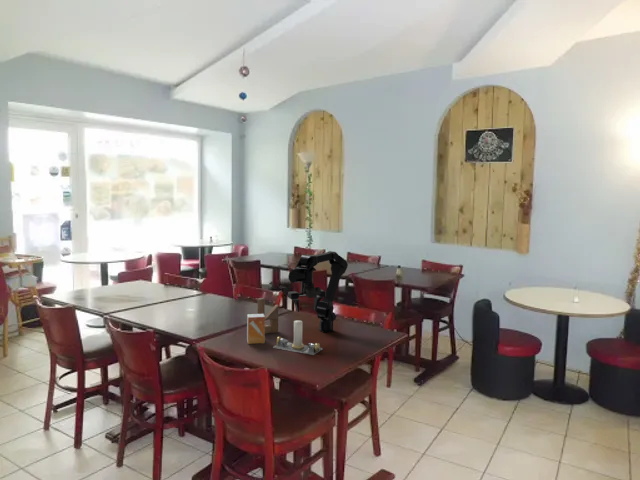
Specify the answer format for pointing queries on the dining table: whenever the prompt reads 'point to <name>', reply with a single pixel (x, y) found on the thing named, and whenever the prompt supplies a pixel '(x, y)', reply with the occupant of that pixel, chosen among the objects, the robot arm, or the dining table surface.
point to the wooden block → (269, 316)
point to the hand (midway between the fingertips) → (306, 311)
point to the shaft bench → (309, 349)
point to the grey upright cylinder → (298, 335)
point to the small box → (255, 328)
